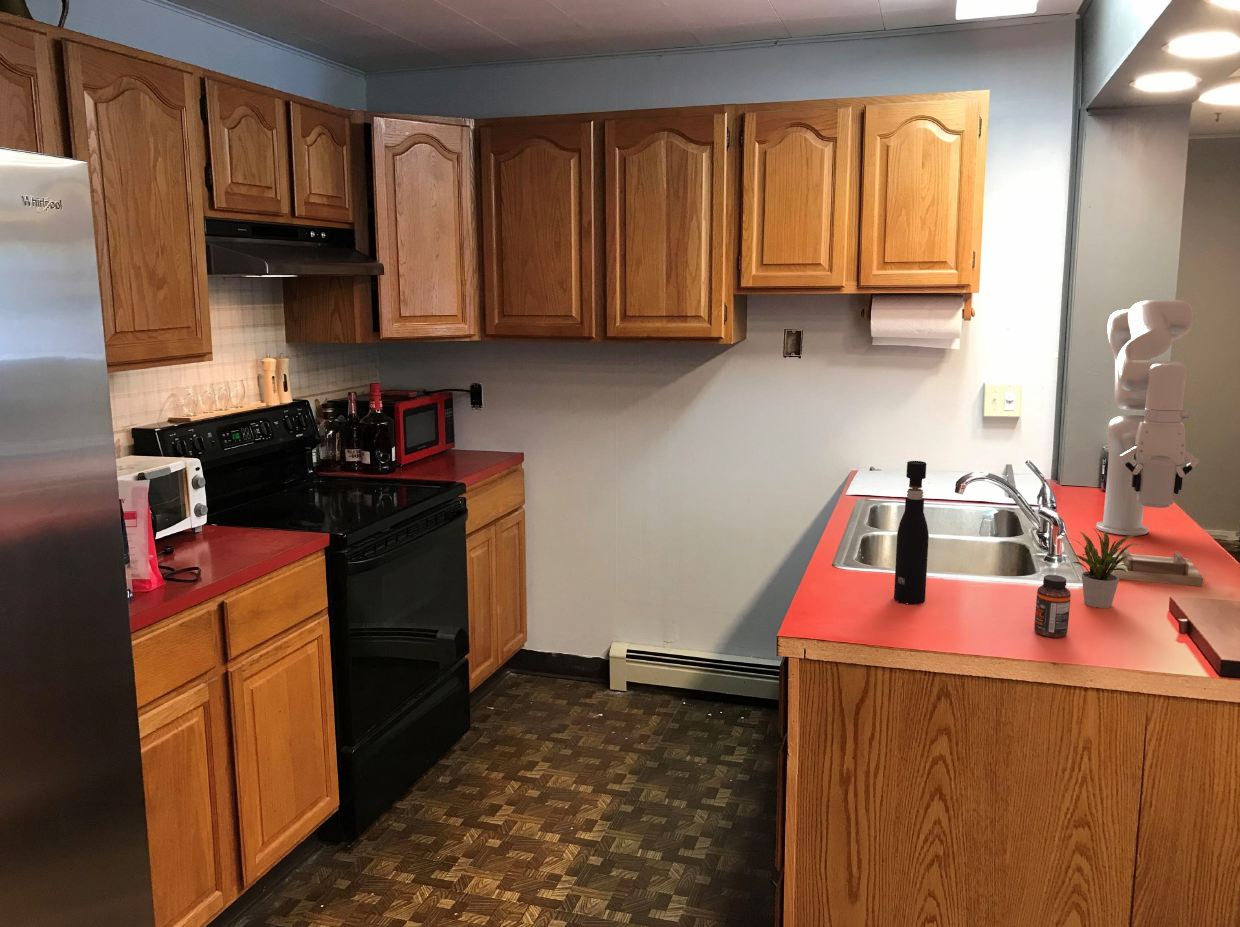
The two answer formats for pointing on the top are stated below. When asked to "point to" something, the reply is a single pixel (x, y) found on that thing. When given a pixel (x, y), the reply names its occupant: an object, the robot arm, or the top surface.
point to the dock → (1158, 569)
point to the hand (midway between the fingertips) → (1155, 491)
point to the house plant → (1101, 571)
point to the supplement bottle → (1052, 607)
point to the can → (1157, 482)
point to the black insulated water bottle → (912, 541)
